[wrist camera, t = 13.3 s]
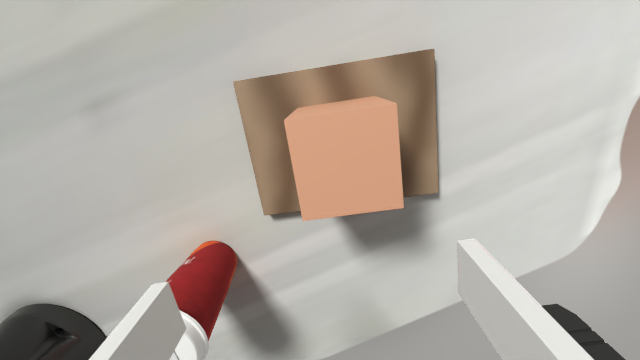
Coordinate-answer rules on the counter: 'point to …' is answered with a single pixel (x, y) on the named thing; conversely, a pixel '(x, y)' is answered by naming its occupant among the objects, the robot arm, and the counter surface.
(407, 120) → the wooden base with block
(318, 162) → the peach bevelled cube
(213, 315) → the paper cup
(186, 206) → the counter surface
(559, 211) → the counter surface
